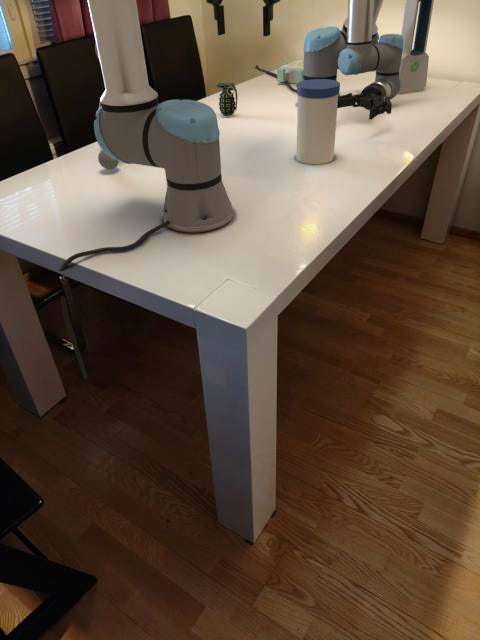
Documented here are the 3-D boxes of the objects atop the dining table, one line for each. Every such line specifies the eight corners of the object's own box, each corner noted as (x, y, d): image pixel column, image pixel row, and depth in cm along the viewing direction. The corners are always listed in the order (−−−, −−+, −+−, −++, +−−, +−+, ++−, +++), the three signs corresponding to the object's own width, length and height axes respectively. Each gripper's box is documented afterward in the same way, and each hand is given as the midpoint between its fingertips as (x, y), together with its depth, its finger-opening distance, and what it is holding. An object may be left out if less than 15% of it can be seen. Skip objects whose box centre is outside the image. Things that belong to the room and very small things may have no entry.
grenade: (217, 117, 168) (214, 86, 162) (221, 112, 172) (219, 82, 166) (235, 117, 166) (233, 86, 160) (239, 113, 171) (238, 82, 165)
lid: (289, 95, 122) (289, 87, 121) (307, 86, 129) (307, 77, 128) (329, 99, 117) (329, 90, 116) (345, 89, 124) (346, 80, 123)
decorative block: (300, 55, 216) (341, 58, 206) (299, 71, 220) (340, 74, 210) (268, 66, 200) (311, 70, 190) (268, 83, 204) (310, 87, 194)
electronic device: (396, 93, 181) (409, -3, 162) (386, 89, 187) (397, -4, 168) (425, 90, 183) (442, -6, 165) (415, 85, 189) (429, -7, 170)
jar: (289, 161, 132) (291, 88, 121) (306, 149, 139) (308, 79, 128) (324, 166, 128) (329, 92, 117) (339, 154, 134) (345, 82, 123)
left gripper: (294, -71, 114) (292, 33, 127) (203, -65, 124) (210, 31, 137) (281, -70, 109) (280, 38, 122) (187, -64, 119) (196, 36, 132)
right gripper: (412, 111, 153) (388, 130, 139) (338, 104, 164) (309, 120, 151) (415, 85, 148) (391, 102, 134) (339, 79, 160) (310, 94, 146)
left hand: (243, 35), depth 129 cm, fingers open, 13 cm apart
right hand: (348, 112), depth 142 cm, fingers open, 13 cm apart
